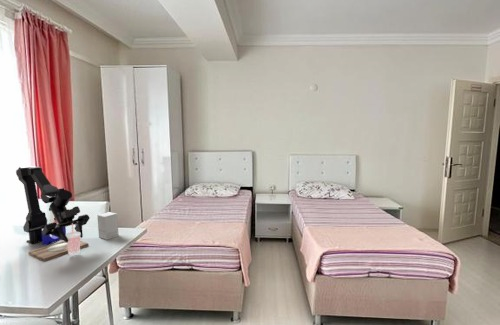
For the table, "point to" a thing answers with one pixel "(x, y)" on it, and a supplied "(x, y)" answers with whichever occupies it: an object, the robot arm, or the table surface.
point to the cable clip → (51, 238)
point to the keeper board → (53, 250)
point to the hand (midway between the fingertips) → (74, 239)
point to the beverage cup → (73, 242)
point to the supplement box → (107, 225)
